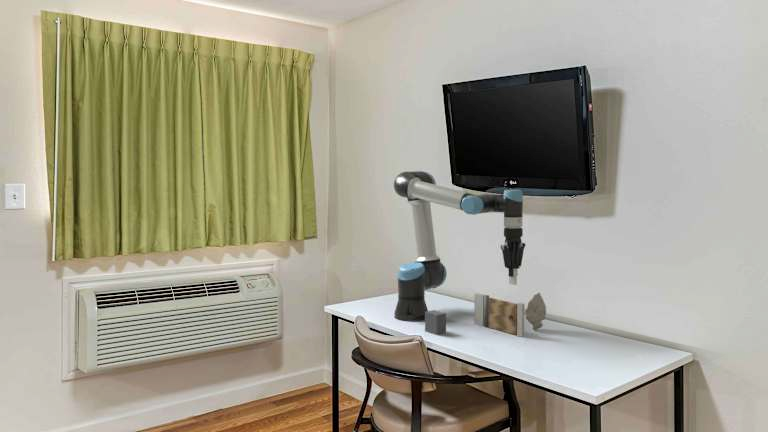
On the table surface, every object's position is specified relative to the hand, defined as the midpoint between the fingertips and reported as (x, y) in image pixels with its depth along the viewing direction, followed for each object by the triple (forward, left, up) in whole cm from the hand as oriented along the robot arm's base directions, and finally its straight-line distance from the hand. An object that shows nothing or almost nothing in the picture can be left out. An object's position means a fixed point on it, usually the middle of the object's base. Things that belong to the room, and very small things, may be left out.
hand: (512, 284), depth 244 cm
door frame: (0, -9, -18) cm, 20 cm away
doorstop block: (-13, -31, -18) cm, 38 cm away
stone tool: (+10, +3, -18) cm, 21 cm away
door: (+3, -10, -17) cm, 20 cm away
